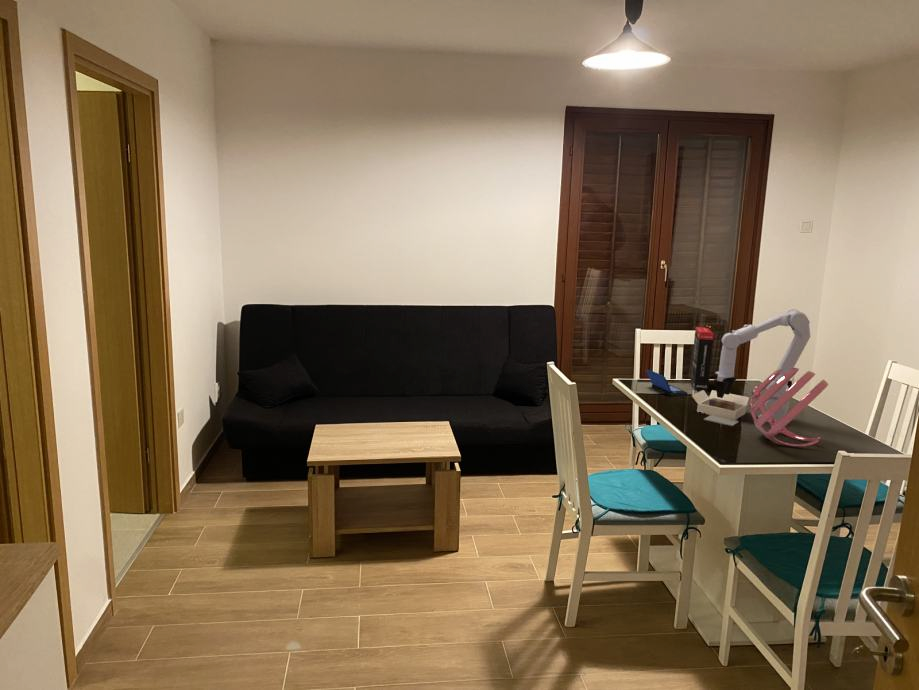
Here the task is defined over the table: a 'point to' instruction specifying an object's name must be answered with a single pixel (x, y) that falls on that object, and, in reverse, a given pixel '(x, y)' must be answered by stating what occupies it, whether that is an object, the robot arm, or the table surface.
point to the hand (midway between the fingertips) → (723, 395)
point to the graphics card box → (701, 358)
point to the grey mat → (721, 420)
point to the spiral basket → (768, 414)
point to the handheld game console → (663, 384)
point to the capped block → (722, 404)
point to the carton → (704, 407)
